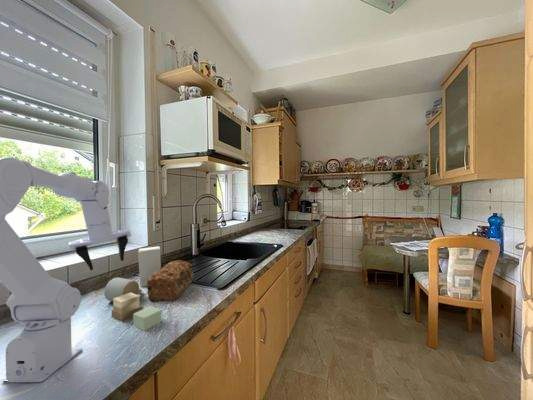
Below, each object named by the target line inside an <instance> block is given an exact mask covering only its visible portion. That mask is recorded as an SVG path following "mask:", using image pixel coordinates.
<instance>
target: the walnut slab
mask: <svg viewBox="0 0 533 400" xmlns="http://www.w3.org/2000/svg"><path fill="white" fill-rule="evenodd" d="M143 309H144V306H143V305H141V304H139V308H137V309H134V310H132V311H129V312H127V313H124V314H120V313H118V312H116V311H114V310H113V309H111V318H113V319H115V320H117V321H119V322H121V323H123V322H126V321H128V320H131V319H133V314H134V313H136V312H138V311H141V310H143Z"/></svg>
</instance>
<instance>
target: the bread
mask: <svg viewBox="0 0 533 400" xmlns="http://www.w3.org/2000/svg"><path fill="white" fill-rule="evenodd" d="M193 275H194V267H193V264H192V263H190V262H188V261H185V260H183V259H182V260H181V259H176V260H171V261H169V262H168V263H166V264H165V265H163V266H161V269H160V270H158V271H157V272H155V273H154V274H153V275H151V276H150V277H149V279H148V281H147V286H146V290H147V292H146V293H147V297H148V300H149V301H154V302H159V301H167V302H170V301H172V302H173V301H176V300H178V298H179V297H180V296H182V294H183V293H184V292H185V291H186V290H187V289H188V288H189V286H190V285H191V283H193V278H194V276H193Z"/></svg>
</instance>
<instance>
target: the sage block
mask: <svg viewBox="0 0 533 400" xmlns="http://www.w3.org/2000/svg"><path fill="white" fill-rule="evenodd" d="M132 319H133V327H135V328H137V329H140V330H142V331H147V330H148V329H150V328H152V327H154V326H156V325H158V324H160V323H161V322H162V309H160V308H157V307H154V306H151V305H150V306H148V307H146V308H143V310H141V311H138V312H136V313H134V314H133V318H132Z"/></svg>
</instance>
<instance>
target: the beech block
mask: <svg viewBox="0 0 533 400" xmlns="http://www.w3.org/2000/svg"><path fill="white" fill-rule="evenodd" d="M112 302H113V305H112V306H113V309H112V310H114V311H116V312H118V313H120V314H124V313H127V312H129V311H132V310H134V309H137V308H139V305H140V295H139V294H137V295H136V294H133V293H128V294H125V295H122V296H119V297H116V298H113V301H112Z"/></svg>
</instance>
